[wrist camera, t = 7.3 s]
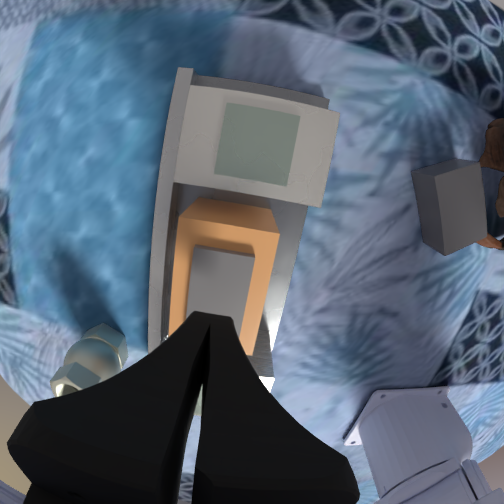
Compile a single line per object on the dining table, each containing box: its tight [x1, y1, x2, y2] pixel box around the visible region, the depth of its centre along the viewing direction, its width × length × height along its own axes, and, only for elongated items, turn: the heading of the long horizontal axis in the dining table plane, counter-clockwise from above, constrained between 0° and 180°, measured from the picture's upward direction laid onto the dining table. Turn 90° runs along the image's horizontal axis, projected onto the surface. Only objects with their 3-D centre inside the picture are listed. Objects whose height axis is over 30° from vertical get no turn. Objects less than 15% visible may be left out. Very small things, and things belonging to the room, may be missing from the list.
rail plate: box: [148, 67, 340, 416], centre depth 16 cm, size 8×20×6 cm, turn 170°
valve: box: [50, 323, 128, 397], centre depth 19 cm, size 7×7×12 cm
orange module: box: [169, 197, 280, 356], centre depth 15 cm, size 4×6×5 cm, turn 170°
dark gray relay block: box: [411, 159, 487, 256], centre depth 16 cm, size 4×5×3 cm
